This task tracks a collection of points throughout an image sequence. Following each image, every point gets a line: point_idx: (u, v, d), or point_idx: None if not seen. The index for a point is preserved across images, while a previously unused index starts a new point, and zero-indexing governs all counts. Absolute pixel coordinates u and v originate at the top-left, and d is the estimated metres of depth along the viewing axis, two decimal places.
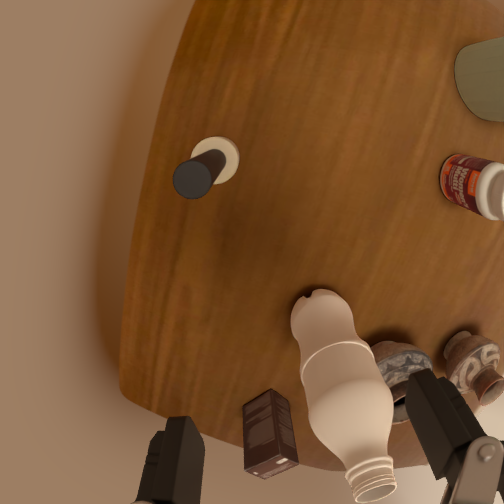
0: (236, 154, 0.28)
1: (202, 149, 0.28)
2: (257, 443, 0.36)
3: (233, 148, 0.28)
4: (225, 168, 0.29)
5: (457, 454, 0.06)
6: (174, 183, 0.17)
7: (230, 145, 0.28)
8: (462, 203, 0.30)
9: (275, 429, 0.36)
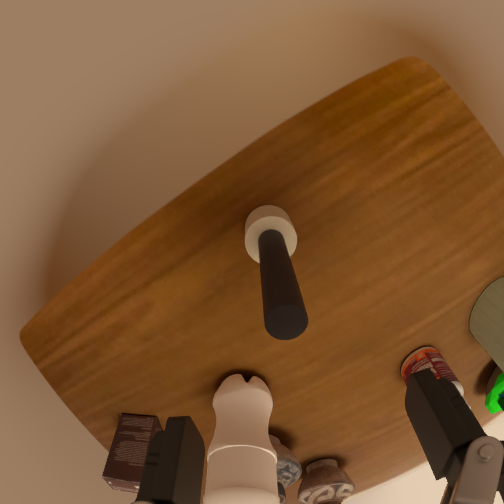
0: (293, 251, 0.27)
1: (269, 223, 0.26)
2: (124, 460, 0.33)
3: (295, 244, 0.27)
4: None
5: (457, 454, 0.06)
6: (269, 314, 0.16)
7: (295, 240, 0.27)
8: None
9: None
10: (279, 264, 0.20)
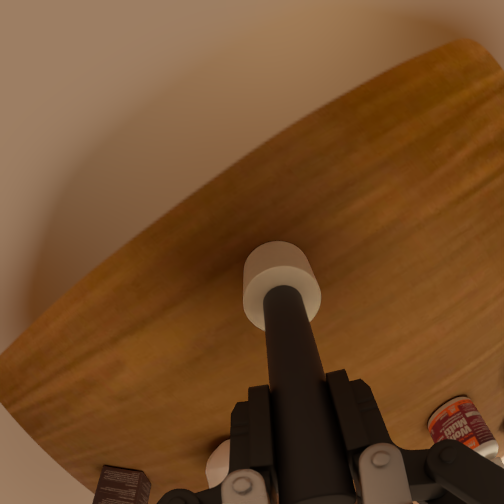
0: (314, 314, 0.18)
1: (280, 277, 0.17)
2: None
3: (318, 305, 0.18)
4: None
5: (355, 457, 0.07)
6: None
7: (318, 299, 0.18)
8: None
9: None
10: (303, 375, 0.11)
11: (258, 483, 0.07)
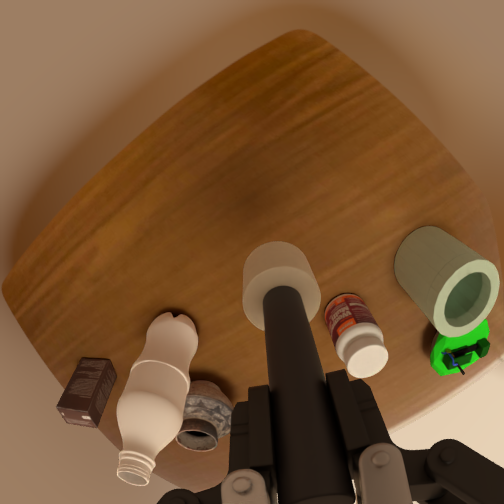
0: (313, 314, 0.18)
1: (280, 277, 0.17)
2: (76, 393, 0.40)
3: (317, 305, 0.18)
4: None
5: (355, 457, 0.07)
6: None
7: (317, 299, 0.18)
8: (330, 332, 0.40)
9: (94, 391, 0.40)
10: (302, 376, 0.11)
11: (258, 483, 0.07)
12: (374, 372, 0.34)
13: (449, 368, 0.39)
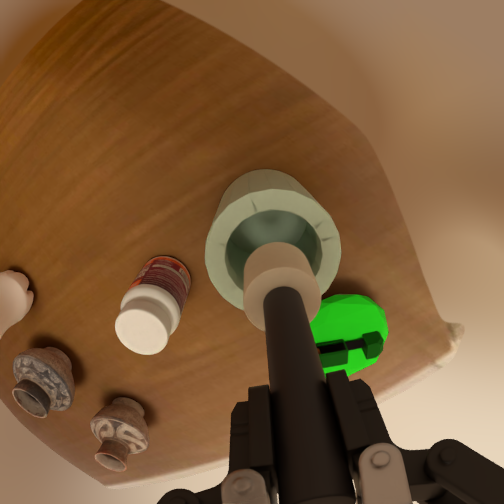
0: (314, 315, 0.18)
1: (281, 278, 0.17)
2: None
3: (318, 306, 0.18)
4: None
5: (355, 457, 0.07)
6: None
7: (318, 300, 0.18)
8: None
9: None
10: (303, 377, 0.11)
11: (258, 483, 0.07)
12: (156, 350, 0.28)
13: None
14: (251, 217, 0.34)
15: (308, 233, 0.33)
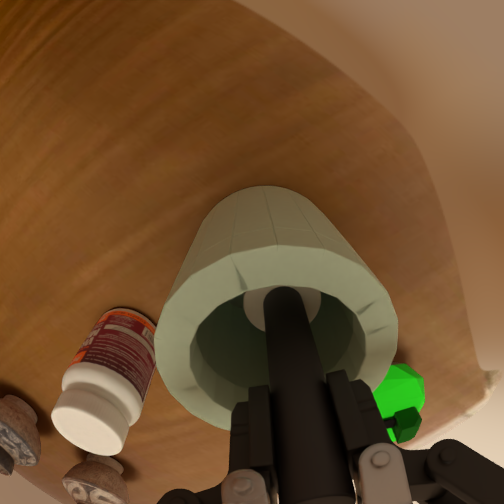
0: (314, 315, 0.18)
1: None
2: None
3: (318, 306, 0.18)
4: None
5: (355, 457, 0.07)
6: None
7: (318, 300, 0.18)
8: None
9: None
10: (303, 377, 0.11)
11: (258, 483, 0.07)
12: (110, 453, 0.16)
13: None
14: None
15: None
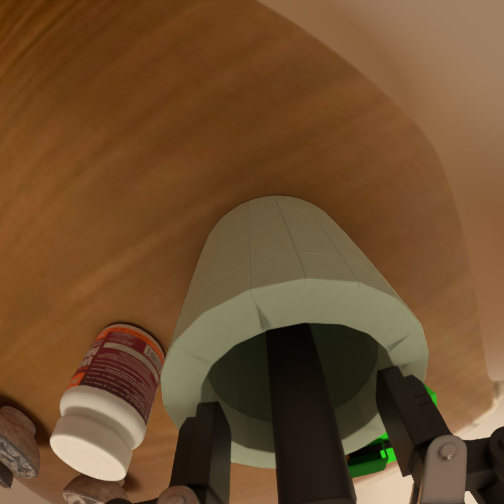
0: None
1: None
2: None
3: None
4: None
5: (419, 451, 0.07)
6: None
7: None
8: None
9: None
10: (302, 379, 0.11)
11: (191, 501, 0.07)
12: (113, 479, 0.15)
13: None
14: None
15: None
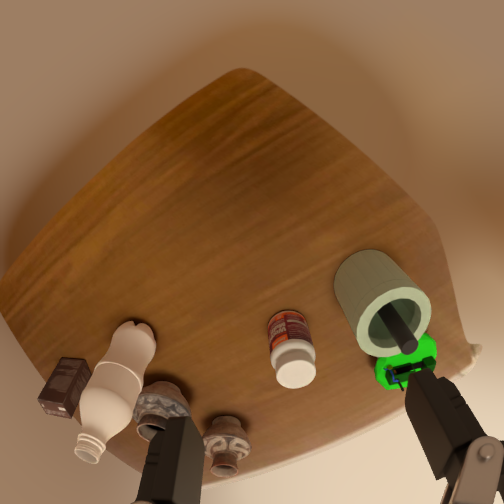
0: None
1: None
2: (54, 388, 0.44)
3: None
4: None
5: (457, 454, 0.06)
6: (404, 344, 0.31)
7: None
8: None
9: (69, 386, 0.45)
10: (396, 316, 0.35)
11: None
12: (304, 384, 0.39)
13: (390, 384, 0.44)
14: None
15: None
